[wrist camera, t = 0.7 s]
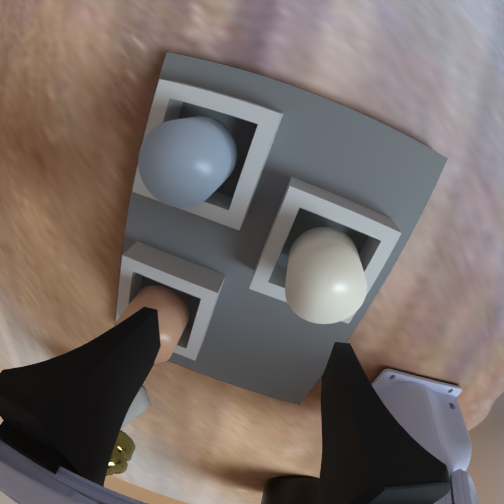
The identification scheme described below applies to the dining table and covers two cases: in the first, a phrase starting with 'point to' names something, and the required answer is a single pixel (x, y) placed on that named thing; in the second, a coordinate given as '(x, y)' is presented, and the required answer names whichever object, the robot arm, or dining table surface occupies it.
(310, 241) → the cream button
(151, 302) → the terracotta button
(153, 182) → the slate-blue button
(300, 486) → the ink bottle
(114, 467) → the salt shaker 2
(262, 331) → the button panel
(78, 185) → the dining table surface
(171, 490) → the dining table surface
